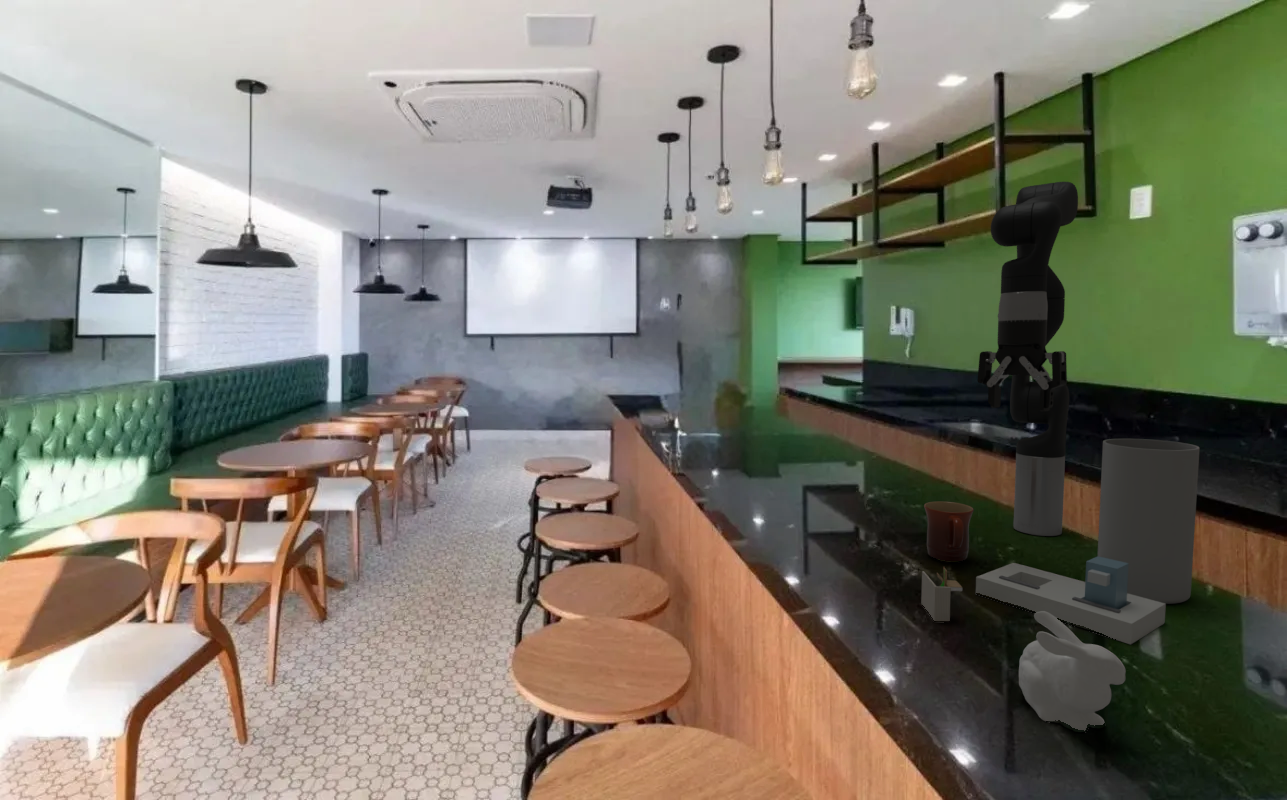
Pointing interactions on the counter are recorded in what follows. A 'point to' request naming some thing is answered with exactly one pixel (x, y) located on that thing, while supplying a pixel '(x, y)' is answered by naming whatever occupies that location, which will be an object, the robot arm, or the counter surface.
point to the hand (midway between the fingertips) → (1019, 409)
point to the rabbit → (1067, 675)
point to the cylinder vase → (1150, 514)
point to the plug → (1106, 582)
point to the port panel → (1071, 602)
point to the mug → (948, 530)
